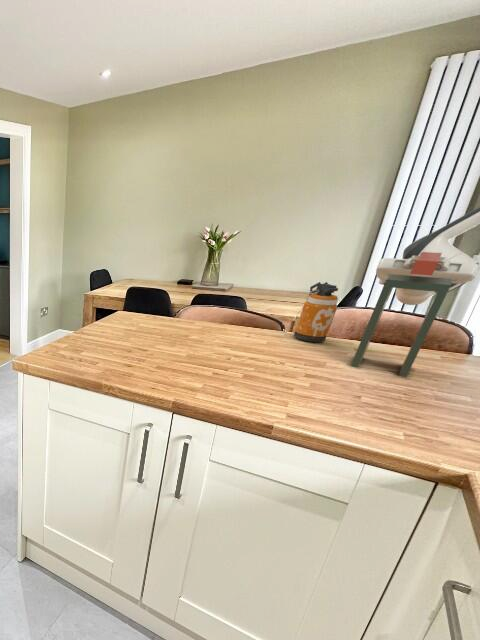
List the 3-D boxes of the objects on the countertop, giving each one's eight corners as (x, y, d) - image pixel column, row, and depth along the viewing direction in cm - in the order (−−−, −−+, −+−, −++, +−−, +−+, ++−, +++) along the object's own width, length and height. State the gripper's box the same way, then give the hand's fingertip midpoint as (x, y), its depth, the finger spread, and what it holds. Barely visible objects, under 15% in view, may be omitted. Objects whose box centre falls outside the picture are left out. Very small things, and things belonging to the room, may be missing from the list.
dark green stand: (409, 366, 119) (452, 279, 108) (406, 377, 113) (451, 285, 102) (356, 356, 128) (390, 274, 117) (350, 365, 121) (386, 279, 110)
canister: (302, 342, 140) (321, 285, 132) (284, 333, 150) (302, 279, 142) (330, 343, 139) (352, 286, 131) (311, 333, 149) (330, 279, 141)
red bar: (436, 265, 116) (441, 252, 114) (432, 275, 103) (438, 261, 101) (416, 264, 118) (421, 252, 117) (410, 273, 105) (415, 260, 104)
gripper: (466, 292, 116) (480, 273, 106) (372, 283, 130) (375, 266, 120) (476, 271, 116) (490, 250, 106) (380, 265, 130) (384, 246, 120)
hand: (428, 258), depth 113 cm, fingers closed on red bar, 4 cm apart
